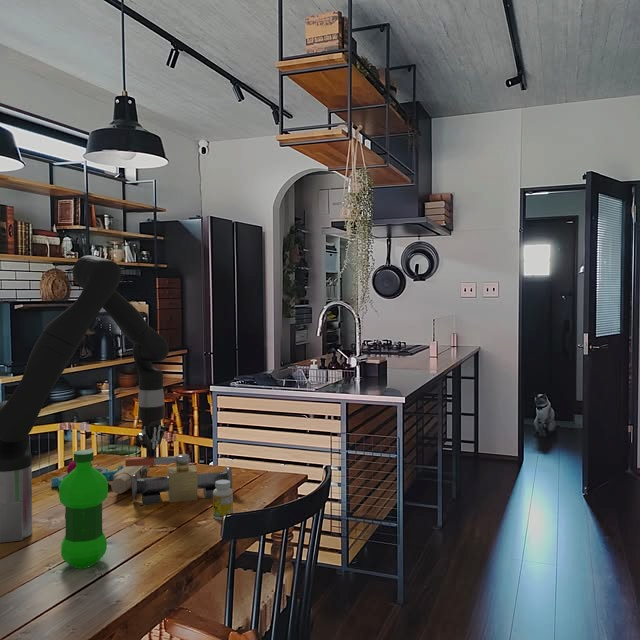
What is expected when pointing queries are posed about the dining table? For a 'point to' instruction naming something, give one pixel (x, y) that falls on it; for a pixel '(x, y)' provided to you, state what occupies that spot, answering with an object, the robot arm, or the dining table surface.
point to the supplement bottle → (222, 499)
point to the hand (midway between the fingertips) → (151, 460)
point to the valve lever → (157, 460)
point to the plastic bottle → (83, 512)
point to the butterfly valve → (115, 477)
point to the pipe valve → (178, 484)
